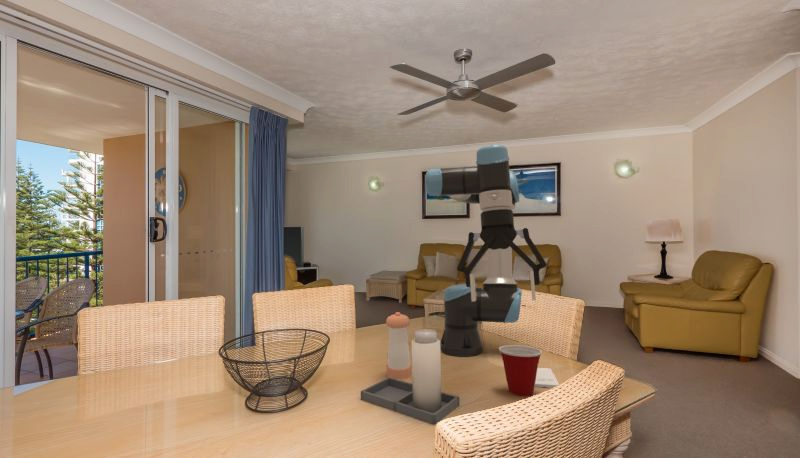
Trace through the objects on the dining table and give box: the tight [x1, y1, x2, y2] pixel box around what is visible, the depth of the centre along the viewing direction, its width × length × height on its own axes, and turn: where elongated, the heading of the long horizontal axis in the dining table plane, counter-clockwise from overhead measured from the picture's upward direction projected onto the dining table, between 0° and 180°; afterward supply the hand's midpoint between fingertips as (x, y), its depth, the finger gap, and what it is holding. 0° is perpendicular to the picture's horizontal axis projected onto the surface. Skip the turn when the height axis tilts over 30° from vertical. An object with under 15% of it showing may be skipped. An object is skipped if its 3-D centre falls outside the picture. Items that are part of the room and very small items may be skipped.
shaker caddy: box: [360, 377, 460, 426], centre depth 93 cm, size 11×22×3 cm, turn 53°
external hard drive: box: [534, 367, 560, 389], centre depth 109 cm, size 2×8×12 cm
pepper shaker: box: [385, 311, 412, 380], centre depth 112 cm, size 7×7×19 cm
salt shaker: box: [411, 328, 442, 414], centre depth 90 cm, size 7×7×18 cm
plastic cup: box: [498, 344, 543, 397], centre depth 99 cm, size 11×11×12 cm
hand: (503, 300), depth 89 cm, fingers open, 13 cm apart
